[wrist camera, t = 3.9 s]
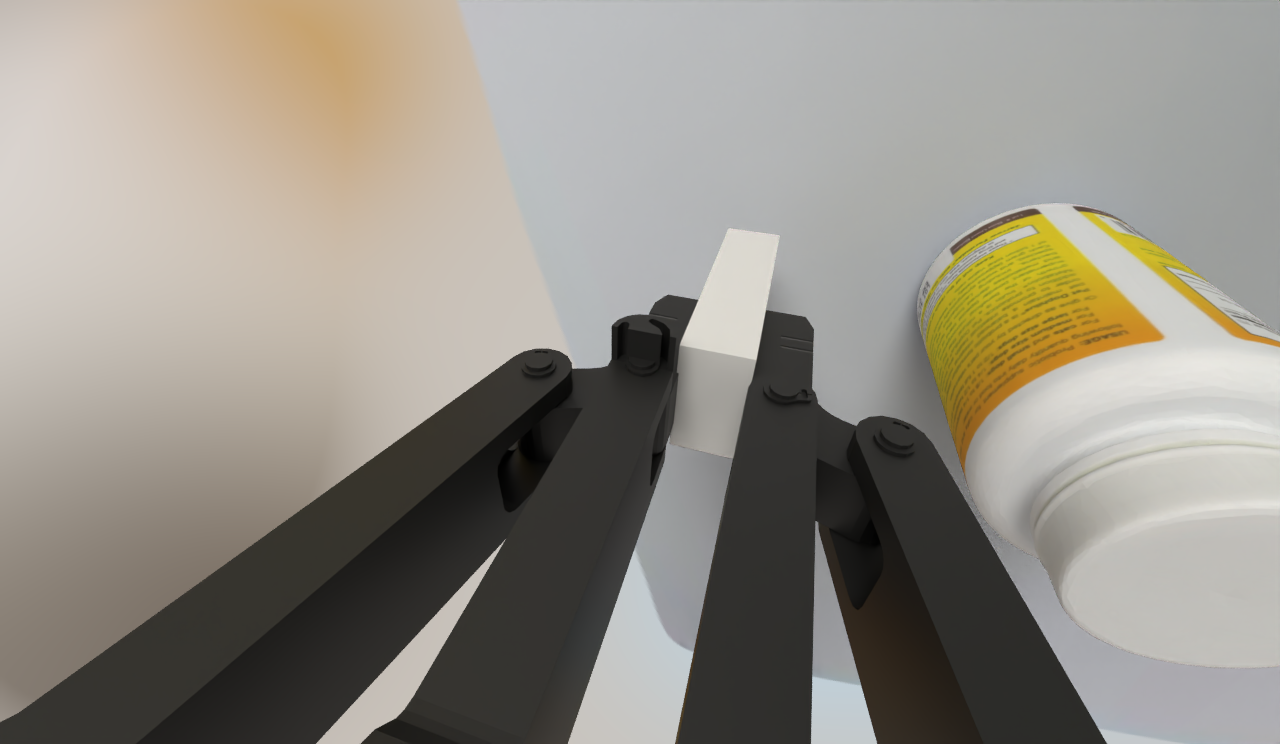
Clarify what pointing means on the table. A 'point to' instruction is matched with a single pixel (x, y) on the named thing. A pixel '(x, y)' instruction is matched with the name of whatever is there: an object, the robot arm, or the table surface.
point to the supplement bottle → (1116, 428)
